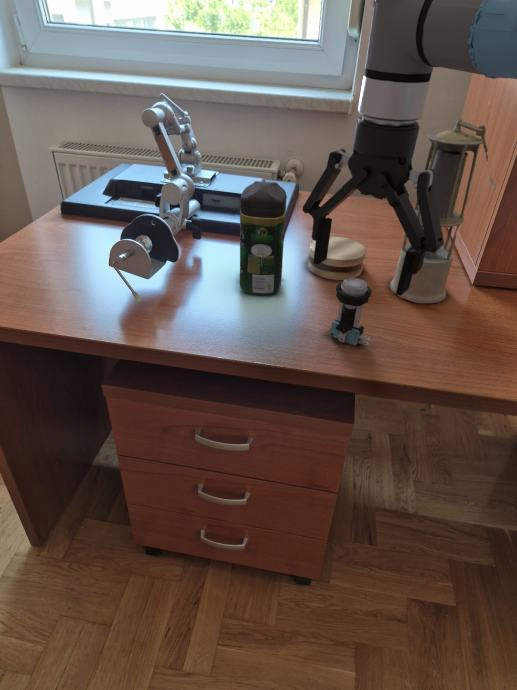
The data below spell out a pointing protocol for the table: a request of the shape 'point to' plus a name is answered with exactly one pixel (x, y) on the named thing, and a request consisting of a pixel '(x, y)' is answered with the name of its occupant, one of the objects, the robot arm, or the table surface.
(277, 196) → the coffee jar
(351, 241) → the wooden yo-yo
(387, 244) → the table surface
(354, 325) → the push button
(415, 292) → the lamp
